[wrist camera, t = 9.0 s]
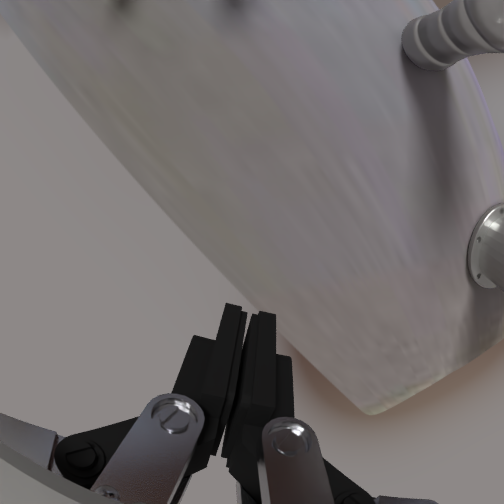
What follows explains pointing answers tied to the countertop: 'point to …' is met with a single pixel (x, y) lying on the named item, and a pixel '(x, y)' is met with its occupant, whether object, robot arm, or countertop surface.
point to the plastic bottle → (455, 33)
